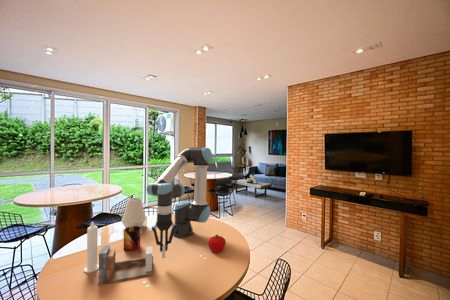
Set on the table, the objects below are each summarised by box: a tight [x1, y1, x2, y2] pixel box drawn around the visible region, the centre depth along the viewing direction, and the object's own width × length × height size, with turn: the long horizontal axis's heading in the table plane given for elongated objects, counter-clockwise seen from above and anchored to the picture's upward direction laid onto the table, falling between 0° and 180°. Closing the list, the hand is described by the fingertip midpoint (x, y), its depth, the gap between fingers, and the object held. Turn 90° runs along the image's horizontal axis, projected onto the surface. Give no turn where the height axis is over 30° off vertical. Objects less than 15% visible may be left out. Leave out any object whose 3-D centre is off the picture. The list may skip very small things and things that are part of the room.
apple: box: [207, 234, 226, 254], centre depth 126 cm, size 11×11×10 cm
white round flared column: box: [83, 221, 99, 274], centre depth 105 cm, size 7×7×25 cm
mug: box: [123, 226, 141, 253], centre depth 127 cm, size 10×14×12 cm
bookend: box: [145, 246, 153, 272], centre depth 105 cm, size 3×8×9 cm, turn 20°
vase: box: [121, 197, 147, 229], centre depth 159 cm, size 18×17×23 cm
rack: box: [97, 244, 154, 287], centre depth 101 cm, size 24×11×14 cm, turn 110°
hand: (163, 256), depth 107 cm, fingers closed
